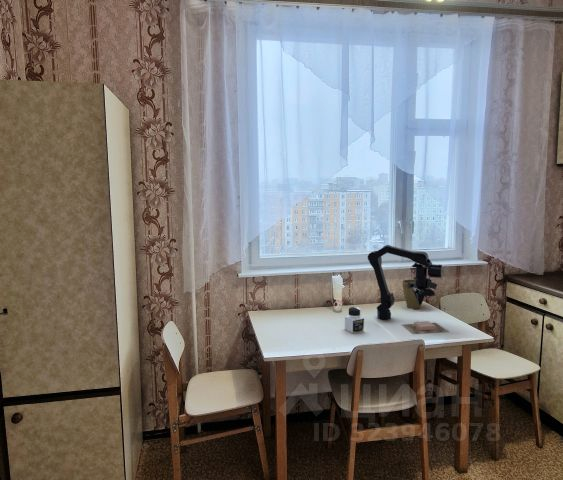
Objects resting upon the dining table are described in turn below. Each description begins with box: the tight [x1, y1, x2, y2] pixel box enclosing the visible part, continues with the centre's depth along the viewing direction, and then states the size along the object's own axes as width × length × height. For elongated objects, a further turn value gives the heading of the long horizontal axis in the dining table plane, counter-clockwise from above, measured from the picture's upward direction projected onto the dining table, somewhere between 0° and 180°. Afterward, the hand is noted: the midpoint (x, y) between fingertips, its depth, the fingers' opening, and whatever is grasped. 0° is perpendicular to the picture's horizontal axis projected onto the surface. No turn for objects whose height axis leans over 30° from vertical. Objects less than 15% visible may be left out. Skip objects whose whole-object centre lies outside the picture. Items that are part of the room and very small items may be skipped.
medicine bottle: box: [344, 306, 365, 334], centre depth 211 cm, size 7×7×12 cm
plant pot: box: [402, 278, 428, 310], centre depth 249 cm, size 15×15×16 cm
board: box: [401, 322, 450, 335], centre depth 211 cm, size 20×14×1 cm
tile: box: [413, 320, 435, 330], centre depth 211 cm, size 8×2×7 cm
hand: (419, 304), depth 215 cm, fingers closed
